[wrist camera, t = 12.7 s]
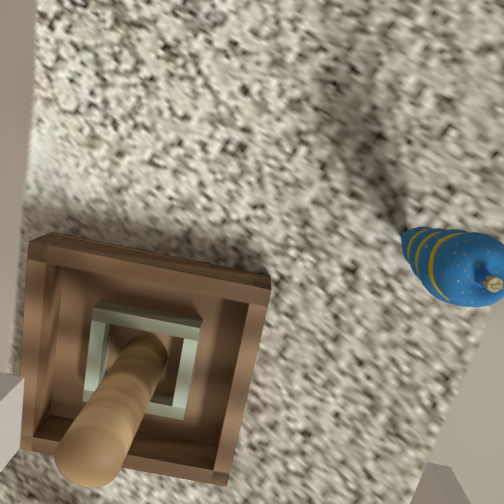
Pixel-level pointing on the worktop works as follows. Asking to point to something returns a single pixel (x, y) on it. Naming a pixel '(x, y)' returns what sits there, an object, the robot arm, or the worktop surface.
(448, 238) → the ornament
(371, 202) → the worktop surface
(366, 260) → the worktop surface
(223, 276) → the box
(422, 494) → the robot arm
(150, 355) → the peg
